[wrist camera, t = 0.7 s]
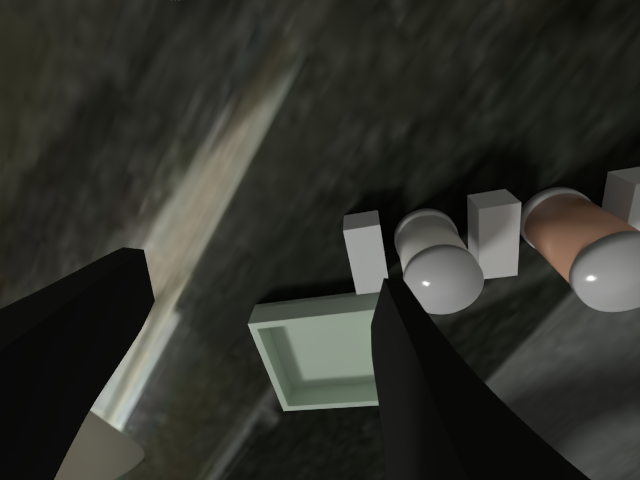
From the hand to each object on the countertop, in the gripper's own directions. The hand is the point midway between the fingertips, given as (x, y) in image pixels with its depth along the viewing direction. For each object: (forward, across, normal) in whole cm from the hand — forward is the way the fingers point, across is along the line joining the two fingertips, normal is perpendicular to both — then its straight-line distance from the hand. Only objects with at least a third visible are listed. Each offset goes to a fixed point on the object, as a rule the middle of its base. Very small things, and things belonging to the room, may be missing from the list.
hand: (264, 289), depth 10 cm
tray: (+9, -4, +13) cm, 16 cm away
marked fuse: (+10, -15, +1) cm, 17 cm away
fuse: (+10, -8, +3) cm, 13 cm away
